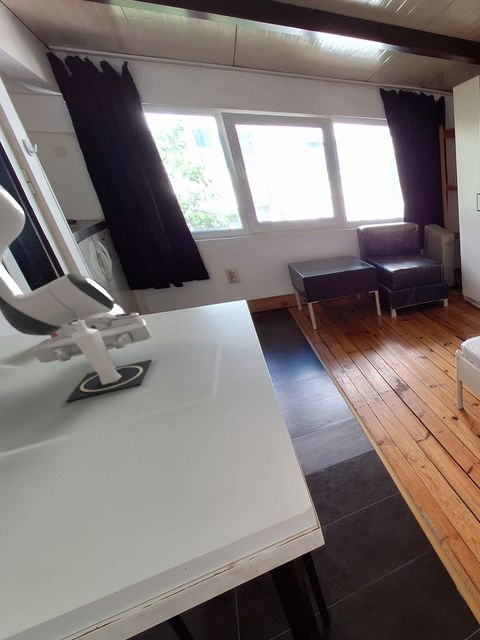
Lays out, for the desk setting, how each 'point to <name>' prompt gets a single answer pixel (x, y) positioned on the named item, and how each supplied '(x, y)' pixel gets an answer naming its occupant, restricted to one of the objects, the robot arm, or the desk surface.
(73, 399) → the circle mat
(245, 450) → the desk surface
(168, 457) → the desk surface
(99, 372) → the perfume bottle
